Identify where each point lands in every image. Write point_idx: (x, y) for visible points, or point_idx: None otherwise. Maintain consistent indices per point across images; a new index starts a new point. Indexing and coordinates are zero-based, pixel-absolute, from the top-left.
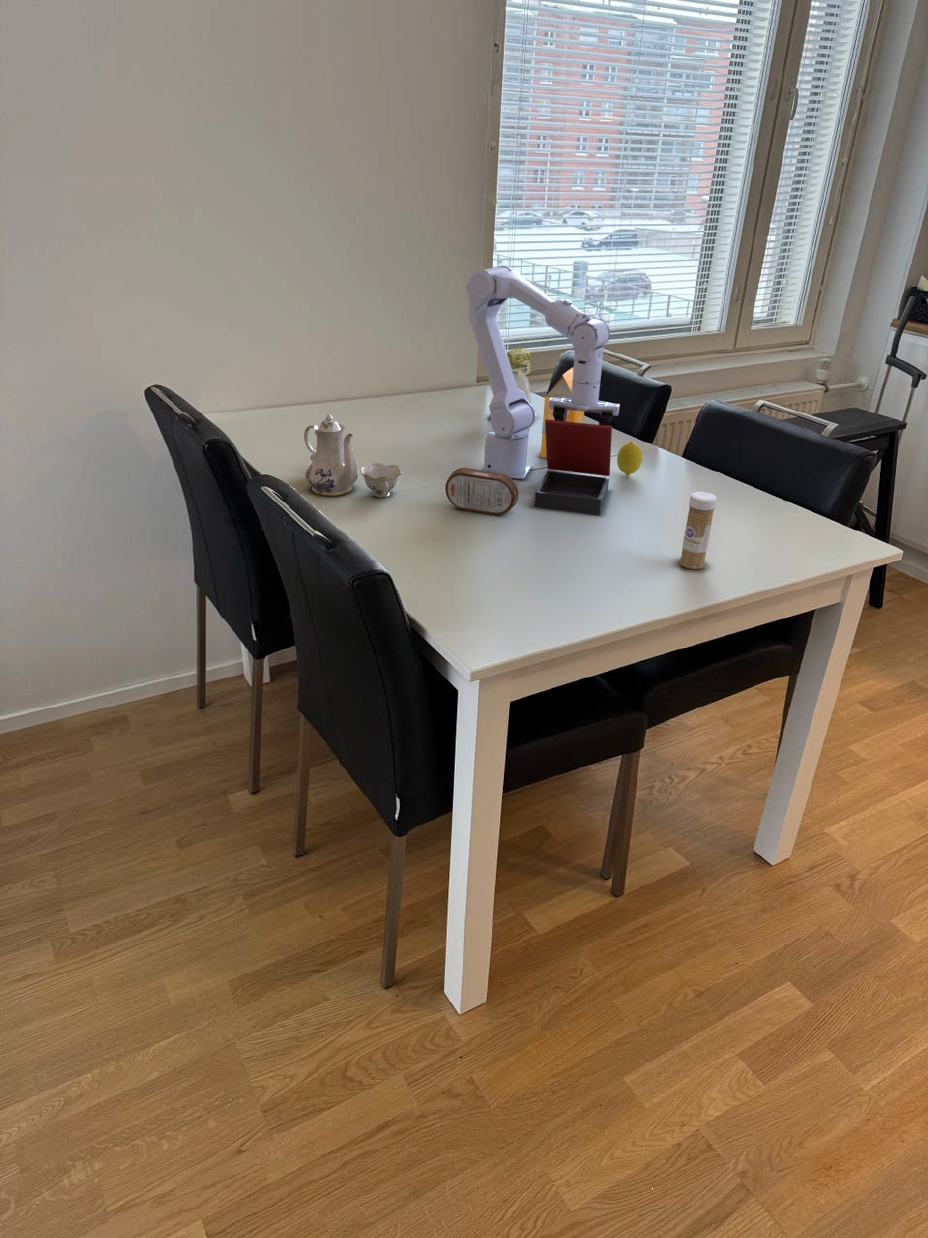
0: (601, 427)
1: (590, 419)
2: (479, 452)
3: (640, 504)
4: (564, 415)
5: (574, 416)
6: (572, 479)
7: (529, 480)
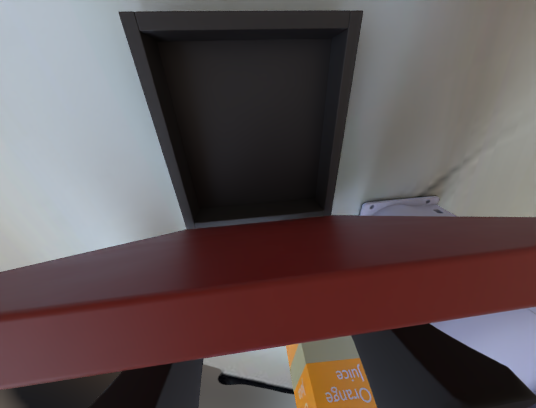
0: None
1: (287, 386)
2: None
3: (92, 166)
4: (423, 398)
5: (312, 390)
6: (270, 208)
7: (351, 205)
